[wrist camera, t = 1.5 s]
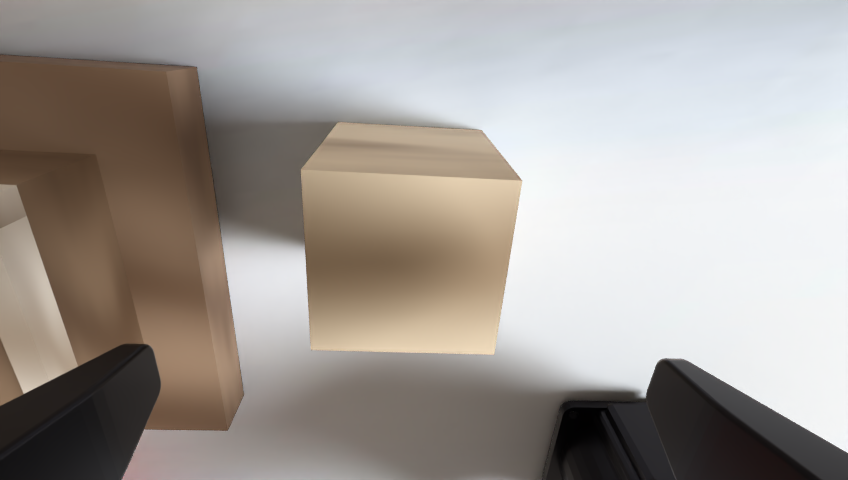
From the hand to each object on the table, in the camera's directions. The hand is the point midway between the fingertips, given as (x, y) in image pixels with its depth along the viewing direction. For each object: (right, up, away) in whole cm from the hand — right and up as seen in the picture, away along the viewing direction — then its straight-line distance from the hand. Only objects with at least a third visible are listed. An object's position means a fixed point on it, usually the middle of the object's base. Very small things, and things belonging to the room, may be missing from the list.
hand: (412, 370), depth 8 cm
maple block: (0, +4, +8) cm, 9 cm away
